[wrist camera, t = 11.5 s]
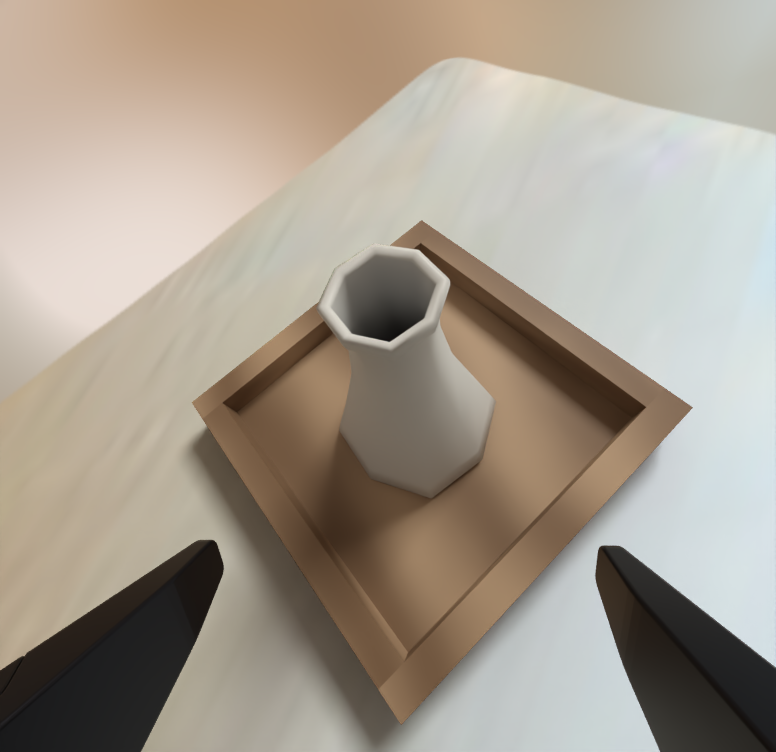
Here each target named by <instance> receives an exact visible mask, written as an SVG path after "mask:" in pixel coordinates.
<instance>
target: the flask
mask: <svg viewBox="0 0 776 752" xmlns="http://www.w3.org/2000/svg"><path fill="white" fill-rule="evenodd" d="M449 287H450V279H449V278H448V277H447V276H446V275H445V274H444V273H442V272H441V271H440V270H439V269H438V268H437V267H436V266H435V265H434V264H433V263H432V262H431V261H430V260H429V259H428V258H427V257H426V256H425V255H424V254H423V253H422V252H420V251H419V250H416V249H409V248H402V247H395V246H388V245H381V244H374V243H373V244H372V245H370V246H369V247H367V248H366V249H364V250H363V251H361V252H359V253H358V254H356V255H355V256H353V257H352V258H350V259H349V260H347V261H346V262H344V263H342V264H341V265H339V266H338V267H336V268H335V269H334V271H333V273H332V275H331V277H330V279H329V281H328V283H327V286H326V288H325V290H324V292H323V294H322V296H321V299H320V301H319V303H318V305H317V307H316V309H317V311H318V313H319V315H320V316H321V317H322V319H323V320H324V321H325V323H326V324H327V325H328V327H329V328H330V329H331V331H332V332H333V333H334V335H335V336H336V337H337V339H338V340H339V341H340V342H341V344H342V345H343V346H344V347H345V348H346V349H347V350H348V351H349V357H350V364H351V371H352V373H351V378H350V384H349V389H348V395H347V400H346V405H345V408H344V412H343V416H342V419H341V423H340V428H339V431H340V433H341V434H342V436H343V437H344V439H345V440H346V442H347V443H348V445H349V446H350V448H351V450H352V451H353V453H354V454H355V456H356V457H357V459H358V460H359V462H360V463H361V465H362V466H363V468H364V469H365V471H366V472H367V474H368V476H369V477H370V479H373V480H376V481H379V482H382V483H385V484H388V485H391V486H394V487H397V488H400V489H403V490H406V491H409V492H412V493H416V494H419V495H422V496H425V497H428V498H433V497H434V496H435V495H437V494H438V493H439V492H441V491H442V490H443V489H444V488H446V487H447V486H448V485H450V484H451V483H452V482H454V481H455V480H456V479H458V478H459V477H460V476H461V475H463V474H464V473H465V472H467V471H468V470H469V469H471V468H472V467H473V466H475V465H476V464H477V463H479V462H480V461H481V460H482V459H483V455H484V451H485V446H486V442H487V438H488V434H489V429H490V425H491V421H492V417H493V412H494V408H495V404H496V401H495V399H494V398H493V397H492V396H491V395H490V394H489V393H488V392H487V391H486V389H485V388H484V387H483V386H482V385H481V384H480V383H479V382H478V381H477V380H476V379H475V378H474V376H473V375H472V374H471V373H470V372H469V371H468V370H467V369H466V368H465V367H464V366H463V365H462V363H461V362H460V361H459V360H458V359H457V358H456V357H455V356H454V355H453V353H452V352H451V350H450V347H449V345H448V343H447V340H446V338H445V336H444V333H443V331H442V329H441V326H440V316H441V312H442V309H443V306H444V303H445V300H446V297H447V294H448V291H449Z"/></svg>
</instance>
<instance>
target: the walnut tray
mask: <svg viewBox="0 0 776 752" xmlns="http://www.w3.org/2000/svg"><path fill="white" fill-rule="evenodd" d="M390 246H395V247H402V248H409V249H416V250H419V251H420V252H422V253H423V254H424V255H425V256H426V257H427V258H428V259H429V260H430V261H431V262H432V263H433V264H434V265H435V266H436V267H437V268H438V269H439V270H440V271H441V272H442V273H444V274H445V275H446V276H447V277H448V278H449V279H450V287H449V291H448V294H447V297H446V300H445V303H444V306H443V309H442V312H441V316H440V326H441V329H442V331H443V333H444V336H445V338H446V340H447V343H448V345H449V347H450V350H451V352H452V353H453V355H454V356H455V357H456V358H457V359H458V360H459V361H460V362H461V363H462V365H463V366H464V367H465V368H466V369H467V370H468V371H469V372H470V373H471V374H472V375H473V376H474V378H475V379H476V380H477V381H478V382H479V383H480V384H481V385H482V386H483V387H484V388H485V389H486V391H487V392H488V393H489V394H490V395H491V396H492V397H493V398H494V399H495V401H496V404H495V408H494V412H493V417H492V421H491V425H490V429H489V434H488V438H487V442H486V446H485V451H484V455H483V459H482V460H481V461H480V462H479V463H477V464H476V465H475V466H473V467H472V468H471V469H469V470H468V471H467V472H465V473H464V474H463V475H461V476H460V477H459V478H458V479H456V480H455V481H454V482H452V483H451V484H450V485H448V486H447V487H446V488H444V489H443V490H442V491H441V492H439V493H438V494H437V495H435V496H434V497H433V498H428V497H425V496H422V495H419V494H416V493H412V492H409V491H406V490H403V489H400V488H397V487H394V486H391V485H388V484H385V483H382V482H379V481H376V480H373V479H370V477H369V476H368V474H367V472H366V471H365V469H364V468H363V466H362V465H361V463H360V462H359V460H358V459H357V457H356V456H355V454H354V453H353V451H352V450H351V448H350V446H349V445H348V443H347V442H346V440H345V439H344V437H343V436H342V434H341V433H340V431H339V428H340V423H341V419H342V416H343V412H344V408H345V405H346V400H347V395H348V389H349V384H350V378H351V373H352V371H351V364H350V357H349V351H348V350H347V349H346V348H345V347H344V346H343V345H342V344H341V342H340V341H339V340H338V339H337V337H336V336H335V335H334V333H333V332H332V331H331V329H330V328H329V327H328V325H327V324H326V323H325V321H324V320H323V319H322V317H321V316H320V315H319V313H318V311H317V309H316V307H317V305H318V303H319V302H318V303H317V304H315V305H314V306H313V307H312V308H310V309H309V310H308V311H307V312H305V313H304V314H303V315H302V316H300V317H299V318H298V319H297V320H295V321H294V322H293V323H291V324H290V325H289V326H288V327H286V328H285V329H284V330H283V331H281V332H280V333H279V334H278V335H276V336H275V337H274V338H273V339H271V340H270V341H269V342H268V343H266V344H265V345H264V346H262V347H261V348H260V349H259V350H257V351H256V352H255V353H254V354H252V355H251V356H250V357H249V358H247V359H246V360H245V361H244V362H242V363H241V364H240V365H239V366H237V367H236V368H235V369H233V370H232V371H231V372H230V373H228V374H227V375H226V376H225V377H223V378H222V379H221V380H220V381H218V382H217V383H216V384H215V385H213V386H212V387H211V388H209V389H208V390H207V391H206V392H204V393H203V394H202V395H201V396H199V397H198V398H197V399H196V400H194V401H193V402H192V404H193V405H194V407H195V408H196V410H197V411H198V413H199V414H200V416H201V417H202V419H203V421H204V422H205V424H206V425H207V427H208V428H209V430H210V431H211V433H212V434H213V436H214V437H215V439H216V441H217V442H218V444H219V445H220V447H221V448H222V450H223V451H224V453H225V454H226V456H227V457H228V459H229V461H230V462H231V464H232V465H233V467H234V468H235V470H236V471H237V473H238V474H239V476H240V478H241V479H242V481H243V482H244V484H245V485H246V487H247V488H248V490H249V491H250V493H251V494H252V496H253V498H254V499H255V501H256V502H257V504H258V505H259V507H260V508H261V510H262V511H263V513H264V514H265V516H266V518H267V519H268V521H269V522H270V524H271V525H272V527H273V528H274V530H275V531H276V533H277V534H278V536H279V538H280V539H281V541H282V542H283V544H284V545H285V547H286V548H287V550H288V551H289V553H290V554H291V556H292V558H293V559H294V561H295V562H296V564H297V565H298V567H299V568H300V570H301V571H302V573H303V575H304V576H305V578H306V579H307V581H308V582H309V584H310V585H311V587H312V588H313V590H314V591H315V593H316V595H317V596H318V598H319V599H320V601H321V602H322V604H323V605H324V607H325V608H326V610H327V611H328V613H329V615H330V616H331V618H332V619H333V621H334V622H335V624H336V625H337V627H338V628H339V630H340V631H341V633H342V635H343V636H344V638H345V639H346V641H347V642H348V644H349V645H350V647H351V648H352V650H353V651H354V653H355V655H356V656H357V658H358V659H359V661H360V662H361V664H362V665H363V667H364V668H365V670H366V671H367V673H368V675H369V676H370V678H371V679H372V681H373V682H374V684H375V685H376V687H377V688H378V690H379V692H380V693H381V695H382V696H383V698H384V699H385V701H386V702H387V704H388V705H389V707H390V708H391V710H392V712H393V713H394V715H395V716H396V718H397V719H398V721H399V722H400V724H401V725H402V724H403V722H404V721H405V720H406V719H407V718H408V717H409V716H410V715H411V714H412V713H413V712H414V710H415V709H416V708H417V707H418V706H419V705H420V704H421V703H422V702H423V701H424V700H425V698H426V697H427V696H428V695H429V694H430V693H431V692H432V691H433V690H434V689H435V688H436V687H437V685H438V684H439V683H440V682H441V681H442V680H443V679H444V678H445V677H446V676H447V675H448V673H449V672H450V671H451V670H452V669H453V668H454V667H455V666H456V665H457V664H458V663H459V661H460V660H461V659H462V658H463V657H464V656H465V655H466V654H467V653H468V652H469V651H470V650H471V648H472V647H473V646H474V645H475V644H476V643H477V642H478V641H479V640H480V639H481V638H482V636H483V635H484V634H485V633H486V632H487V631H488V630H489V629H490V628H491V627H492V626H493V624H494V623H495V622H496V621H497V620H498V619H499V618H500V617H501V616H502V615H503V614H504V613H505V611H506V610H507V609H508V608H509V607H510V606H511V605H512V604H513V603H514V602H515V601H516V599H517V598H518V597H519V596H520V595H521V594H522V593H523V592H524V591H525V590H526V589H527V588H528V586H529V585H530V584H531V583H532V582H533V581H534V580H535V579H536V578H537V577H538V576H539V574H540V573H541V572H542V571H543V570H544V569H545V568H546V567H547V566H548V565H549V564H550V562H551V561H552V560H553V559H554V558H555V557H556V556H557V555H558V554H559V553H560V552H561V551H562V549H563V548H564V547H565V546H566V545H567V544H568V543H569V542H570V541H571V540H572V539H573V537H574V536H575V535H576V534H577V533H578V532H579V531H580V530H581V529H582V528H583V527H584V525H585V524H586V523H587V522H588V521H589V520H590V519H591V518H592V517H593V516H594V515H595V514H596V512H597V511H598V510H599V509H600V508H601V507H602V506H603V505H604V504H605V503H606V502H607V500H608V499H609V498H610V497H611V496H612V495H613V494H614V493H615V492H616V491H617V490H618V488H619V487H620V486H621V485H622V484H623V483H624V482H625V481H626V480H627V479H628V478H629V477H630V475H631V474H632V473H633V472H634V471H635V470H636V469H637V468H638V467H639V466H640V465H641V463H642V462H643V461H644V460H645V459H646V458H647V457H648V456H649V455H650V454H651V453H652V452H653V450H654V449H655V448H656V447H657V446H658V445H659V444H660V443H661V442H662V441H663V440H664V438H665V437H666V436H667V435H668V434H669V433H670V432H671V431H672V430H673V429H674V428H675V426H676V425H677V424H678V423H679V422H680V421H681V420H682V419H683V418H684V417H685V416H686V415H687V413H688V412H689V411H690V410H691V409H692V408H693V407H691V406H690V405H688V404H687V403H685V402H684V401H683V400H681V399H680V398H678V397H677V396H675V395H674V394H672V393H671V392H670V391H668V390H667V389H665V388H664V387H662V386H661V385H659V384H658V383H657V382H655V381H654V380H652V379H651V378H649V377H648V376H646V375H645V374H643V373H642V372H641V371H639V370H638V369H636V368H635V367H633V366H632V365H630V364H629V363H628V362H626V361H625V360H623V359H622V358H620V357H619V356H617V355H616V354H614V353H613V352H612V351H610V350H609V349H607V348H606V347H604V346H603V345H601V344H600V343H599V342H597V341H596V340H594V339H593V338H591V337H590V336H588V335H587V334H586V333H584V332H583V331H581V330H580V329H578V328H577V327H575V326H574V325H572V324H571V323H570V322H568V321H567V320H565V319H564V318H562V317H561V316H559V315H558V314H557V313H555V312H554V311H552V310H551V309H549V308H548V307H546V306H545V305H543V304H542V303H541V302H539V301H538V300H536V299H535V298H533V297H532V296H530V295H529V294H528V293H526V292H525V291H523V290H522V289H520V288H519V287H517V286H516V285H514V284H513V283H512V282H510V281H509V280H507V279H506V278H504V277H503V276H501V275H500V274H499V273H497V272H496V271H494V270H493V269H491V268H490V267H488V266H487V265H486V264H484V263H483V262H481V261H480V260H478V259H477V258H475V257H474V256H472V255H471V254H470V253H468V252H467V251H465V250H464V249H462V248H461V247H459V246H458V245H457V244H455V243H454V242H452V241H451V240H449V239H448V238H446V237H445V236H443V235H442V234H441V233H439V232H438V231H436V230H435V229H433V228H432V227H430V226H429V225H428V224H426V223H425V222H423V221H422V220H421V221H420V222H419V223H418V224H416V225H415V226H414V227H413V228H411V229H410V230H409V231H408V232H406V233H405V234H404V235H403V236H401V237H400V238H399V239H397V240H396V241H395V242H394V243H392V244H391V245H390Z"/></svg>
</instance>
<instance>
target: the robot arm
mask: <svg viewBox="0 0 776 752" xmlns="http://www.w3.org/2000/svg"><path fill="white" fill-rule="evenodd" d="M223 570H224V565H223V561H222V558H221V555H220V552H219V549H218V546H217V543H216V542H215V541H213V540H198V541H196V542H194V543H193V544H191V545H190V546H188V547H187V548H185V549H184V550H182V551H181V552H179V553H178V554H176V555H175V556H173V557H172V558H170V559H168V560H167V561H165V562H164V563H162V564H161V565H159V566H158V567H156V568H155V569H153V570H152V571H150V572H149V573H147V574H146V575H144V576H143V577H141V578H140V579H138V580H137V581H135V582H134V583H132V584H131V585H129V586H128V587H126V588H125V589H123V590H122V591H120V592H118V593H117V594H115V595H114V596H112V597H111V598H109V599H108V600H106V601H105V602H103V603H102V604H100V605H99V606H97V607H96V608H94V609H93V610H91V611H90V612H88V613H87V614H85V615H84V616H82V617H81V618H79V619H78V620H76V621H75V622H73V623H72V624H70V625H68V626H67V627H65V628H64V629H62V630H61V631H59V632H58V633H56V634H55V635H53V636H52V637H50V638H49V639H47V640H46V641H44V642H43V643H41V644H40V645H38V646H37V647H35V648H34V649H32V650H31V651H29V652H28V653H27V654H26V655H25V656H22V657H20V658H18V659H17V660H15V661H14V662H12V663H11V664H9V665H8V666H6V667H5V668H3V669H2V670H0V752H141V751H142V749H143V747H144V745H145V743H146V741H147V739H148V737H149V735H150V733H151V731H152V729H153V727H154V725H155V723H156V721H157V719H158V717H159V715H160V713H161V711H162V709H163V707H164V705H165V703H166V701H167V699H168V697H169V695H170V693H171V691H172V689H173V687H174V685H175V683H176V681H177V679H178V677H179V675H180V673H181V671H182V669H183V667H184V665H185V663H186V661H187V659H188V657H189V655H190V653H191V650H192V648H193V646H194V644H195V642H196V640H197V638H198V635H199V633H200V631H201V628H202V626H203V623H204V621H205V618H206V616H207V613H208V611H209V608H210V605H211V603H212V600H213V598H214V595H215V593H216V590H217V588H218V585H219V583H220V580H221V578H222V575H223ZM595 576H596V583H597V587H598V590H599V593H600V596H601V600H602V603H603V606H604V609H605V612H606V615H607V618H608V621H609V624H610V627H611V630H612V633H613V636H614V639H615V643H616V646H617V649H618V652H619V655H620V658H621V660H622V663H623V666H624V669H625V671H626V673H627V676H628V678H629V681H630V683H631V685H632V688H633V690H634V692H635V695H636V697H637V699H638V701H639V704H640V706H641V708H642V711H643V713H644V715H645V718H646V720H647V722H648V725H649V727H650V729H651V731H652V734H653V736H654V738H655V741H656V743H657V745H658V748H659V750H660V752H776V667H774V666H773V665H772V664H771V663H769V662H768V661H767V660H765V659H764V658H763V657H762V656H760V655H759V654H758V653H757V652H755V651H754V650H753V649H751V648H750V647H749V646H748V645H746V644H745V643H744V642H743V641H741V640H740V639H739V638H737V637H736V636H735V635H734V634H732V633H731V632H730V631H729V630H727V629H726V628H725V627H723V626H722V625H721V624H720V623H718V622H717V621H716V620H715V619H713V618H712V617H711V616H709V615H708V614H707V613H706V612H704V611H703V610H702V609H700V608H699V607H698V606H697V605H695V604H694V603H693V602H692V601H690V600H689V599H688V598H686V597H685V596H684V595H683V594H681V593H680V592H679V591H678V590H676V589H675V588H674V587H672V586H671V585H670V584H669V583H667V582H666V581H665V580H664V579H662V578H661V577H660V576H658V575H657V574H656V573H655V572H653V571H652V570H651V569H650V568H648V567H647V566H646V565H644V564H643V563H642V562H641V561H639V560H638V559H637V558H636V557H634V556H633V555H632V554H630V553H629V552H628V551H627V550H625V549H624V548H622V547H620V546H601V547H600V548H599V550H598V556H597V565H596V574H595Z"/></svg>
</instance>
